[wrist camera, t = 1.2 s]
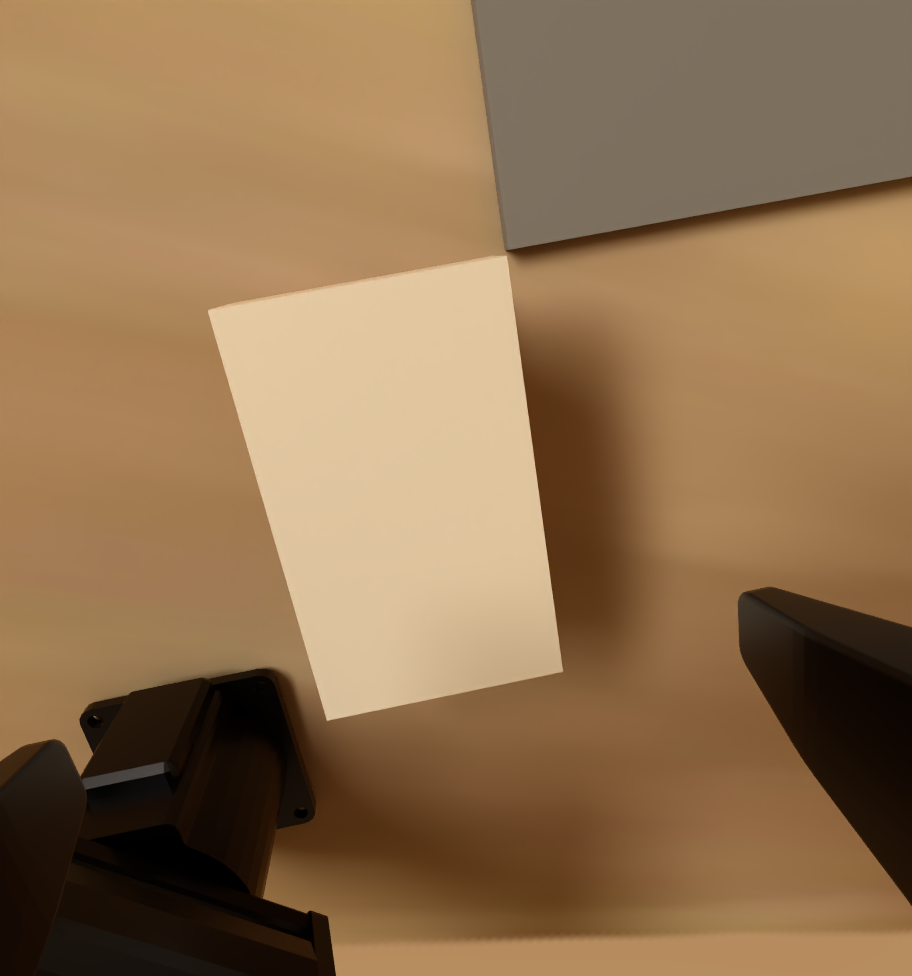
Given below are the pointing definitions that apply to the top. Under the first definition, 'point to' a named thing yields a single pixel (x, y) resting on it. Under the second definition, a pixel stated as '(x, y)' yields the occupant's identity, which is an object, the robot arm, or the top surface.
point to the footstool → (398, 480)
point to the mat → (687, 106)
